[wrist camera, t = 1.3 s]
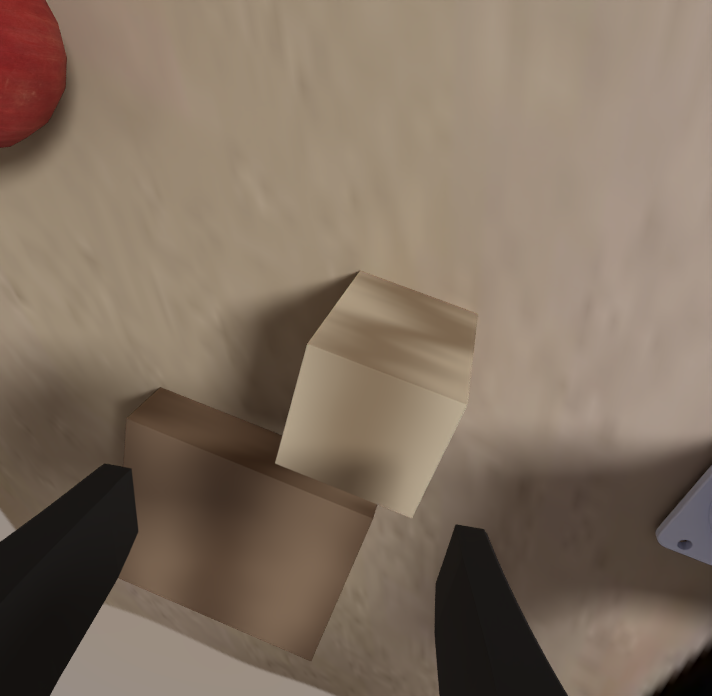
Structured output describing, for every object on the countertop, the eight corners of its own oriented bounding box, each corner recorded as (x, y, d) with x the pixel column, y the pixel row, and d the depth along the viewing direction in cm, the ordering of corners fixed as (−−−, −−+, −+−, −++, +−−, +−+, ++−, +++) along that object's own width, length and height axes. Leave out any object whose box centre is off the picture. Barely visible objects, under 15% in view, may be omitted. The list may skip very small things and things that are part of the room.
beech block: (478, 313, 19) (467, 404, 14) (434, 409, 21) (411, 518, 16) (360, 270, 19) (307, 343, 14) (330, 369, 22) (274, 463, 16)
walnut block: (387, 470, 24) (372, 518, 21) (328, 609, 29) (311, 661, 27) (166, 382, 25) (126, 418, 22) (149, 533, 30) (116, 576, 28)
